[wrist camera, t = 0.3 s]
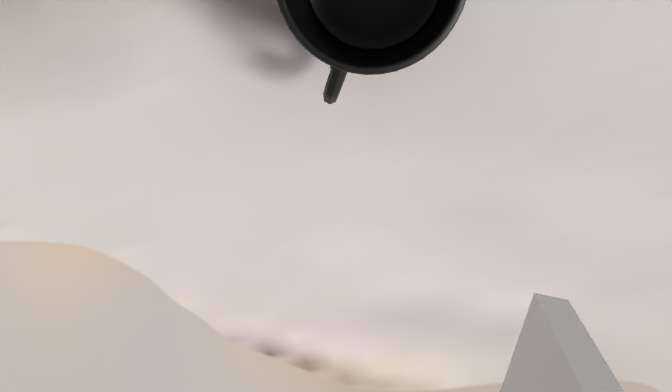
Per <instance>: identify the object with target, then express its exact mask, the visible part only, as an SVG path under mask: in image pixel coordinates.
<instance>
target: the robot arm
mask: <svg viewBox="0 0 672 392" xmlns="http://www.w3.org/2000/svg"><path fill="white" fill-rule="evenodd" d="M500 392H624V391H623V389H622V388H621V386H620V384H619V383H618V381H617V379H616V378H615V376H614V374H613V373H612V371H611V369H610V368H609V366H608V364H607V363H606V361H605V360H604V358H603V356H602V355H601V353H600V351H599V350H598V348H597V346H596V345H595V343H594V341H593V340H592V338H591V337H590V335H589V333H588V332H587V330H586V328H585V327H584V325H583V323H582V322H581V320H580V318H579V317H578V315H577V314H576V312H575V310H574V309H573V307H572V305H571V304H570V302H569V300H565V299H560V298H556V297H551V296H546V295H541V294H536V293H534V295H533V298H532V301H531V304H530V307H529V310H528V313H527V316H526V319H525V321H524V324H523V327H522V330H521V333H520V336H519V339H518V342H517V345H516V348H515V350H514V353H513V356H512V359H511V362H510V365H509V368H508V371H507V374H506V377H505V379H504V382H503V385H502V388H501V391H500Z"/></svg>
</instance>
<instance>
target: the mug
mask: <svg viewBox="0 0 672 392" xmlns="http://www.w3.org/2000/svg"><path fill="white" fill-rule="evenodd" d="M277 1H278V5H279V8H280V10H281V13H282V15H283V18H284V20H285V22H286V23H287V25H288V27H289V29H290V30H291V32H292V33H293V35H294V36H295V37H296V39H297V40H298V41H299V42H300V43H301V44H302V46H303V47H305V48H306V49H307V50H308V51H309V52H310V53H311V54H312V55H314V56H315V57H317V58H318V59H319V60H321V61H323V62H324V63H326V64H328V65H330V66H331V67H330V68H331V71H330V74H329V77H328V80H327V83H326V86H325V89H324V93H323V95H324V101H325V102H327V103H328V104H332V103H334V102H336V100H337V98H338V95H339V93H340V90H341V87H342V85H343V82H344V80H345V77H346V74H347V72H350V73H356V74H364V75H374V74H385V73H390V72H395V71H398V70H400V69H403V68H406V67H408V66H410V65H413V64H414V63H416V62H418V61H420V60H422V59H423V58H425V57H426V56H427V55H428V54H430V53H431V52H432V51H433V50H435V49H436V48H437V47H438V46H439V45H440V44H441V43H442V42H443V40H444V39H445V38H446V37H447V36H448V34H449V33H450V31H451V30H452V29H453V27H454V26H455V24H456V22H457V20H458V18H459V16H460V14H461V12H462V10H463V7H464V4H465V1H466V0H277Z"/></svg>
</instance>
